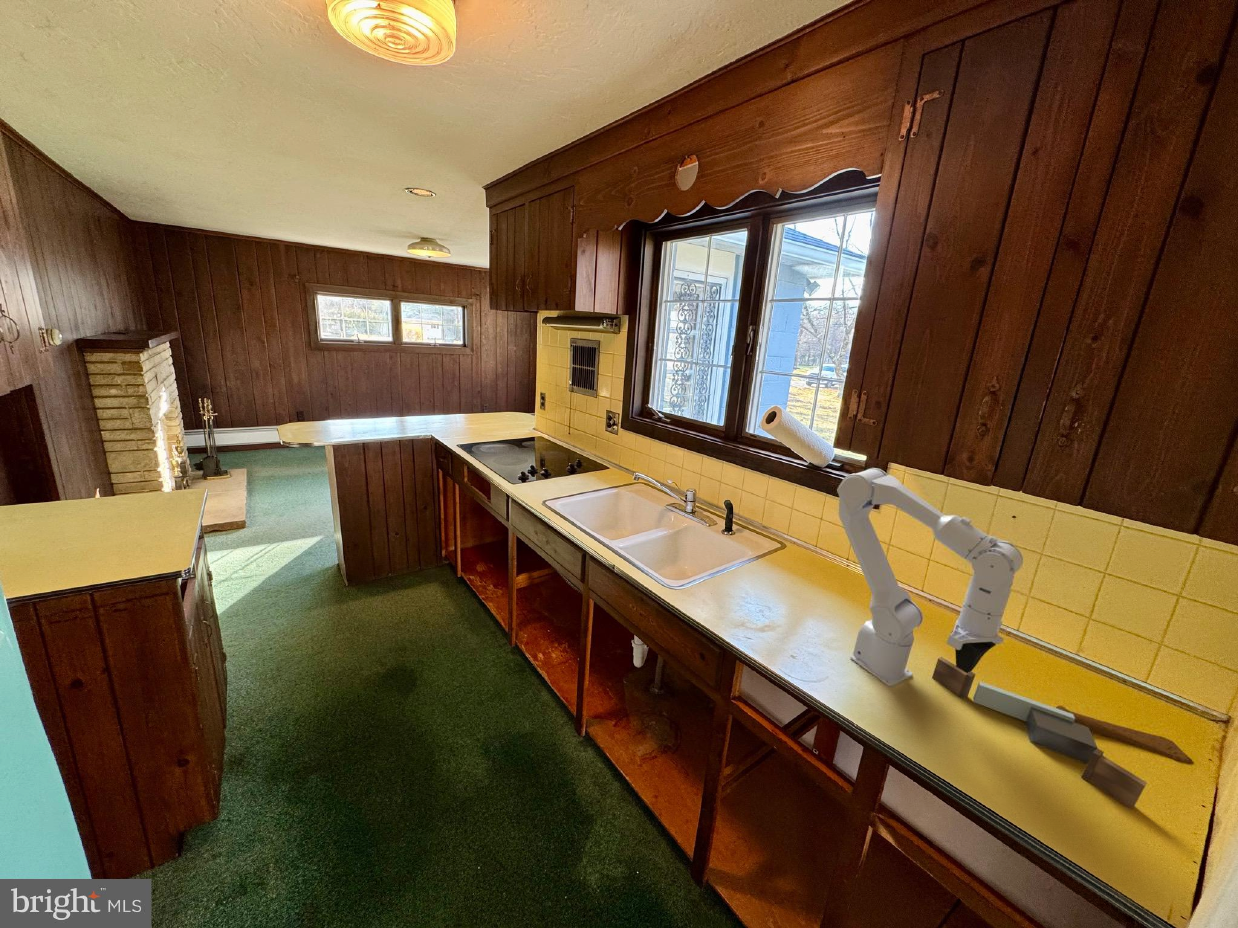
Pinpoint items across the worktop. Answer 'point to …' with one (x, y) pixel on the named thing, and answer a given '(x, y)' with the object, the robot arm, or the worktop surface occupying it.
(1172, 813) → the worktop surface
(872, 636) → the robot arm
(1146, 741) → the primitive tool
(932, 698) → the worktop surface
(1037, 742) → the block
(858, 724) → the worktop surface
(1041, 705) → the pale grey-green bar
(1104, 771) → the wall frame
